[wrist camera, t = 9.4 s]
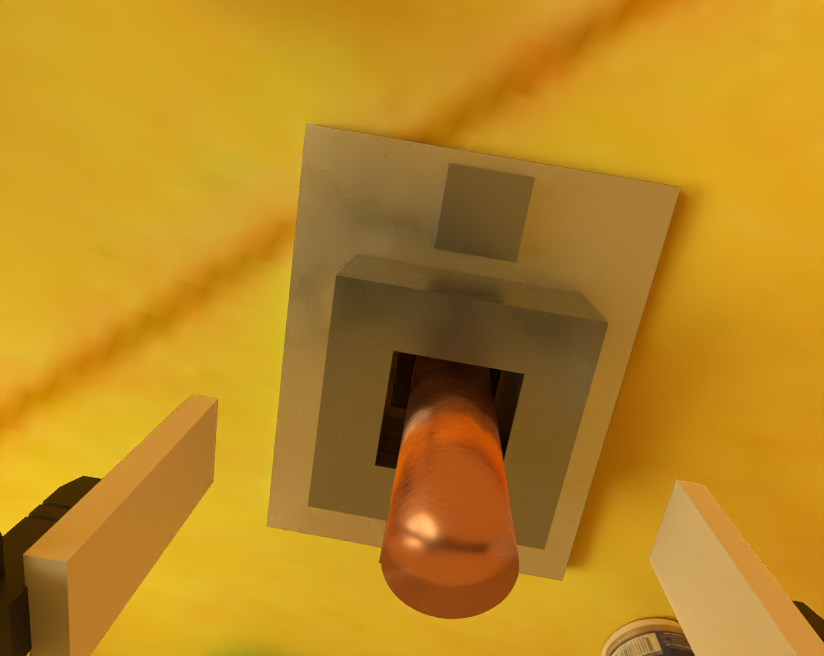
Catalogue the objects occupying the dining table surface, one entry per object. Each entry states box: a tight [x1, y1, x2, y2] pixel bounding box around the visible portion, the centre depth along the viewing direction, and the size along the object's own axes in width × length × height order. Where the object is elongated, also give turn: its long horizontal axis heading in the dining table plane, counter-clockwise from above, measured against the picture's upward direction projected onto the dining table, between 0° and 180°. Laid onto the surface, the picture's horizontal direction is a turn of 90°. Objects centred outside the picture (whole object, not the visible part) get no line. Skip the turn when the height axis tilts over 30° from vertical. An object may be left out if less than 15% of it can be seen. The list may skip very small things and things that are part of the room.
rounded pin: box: [381, 355, 519, 619], centre depth 19 cm, size 3×3×12 cm
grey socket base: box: [267, 124, 681, 581], centre depth 22 cm, size 14×18×5 cm
